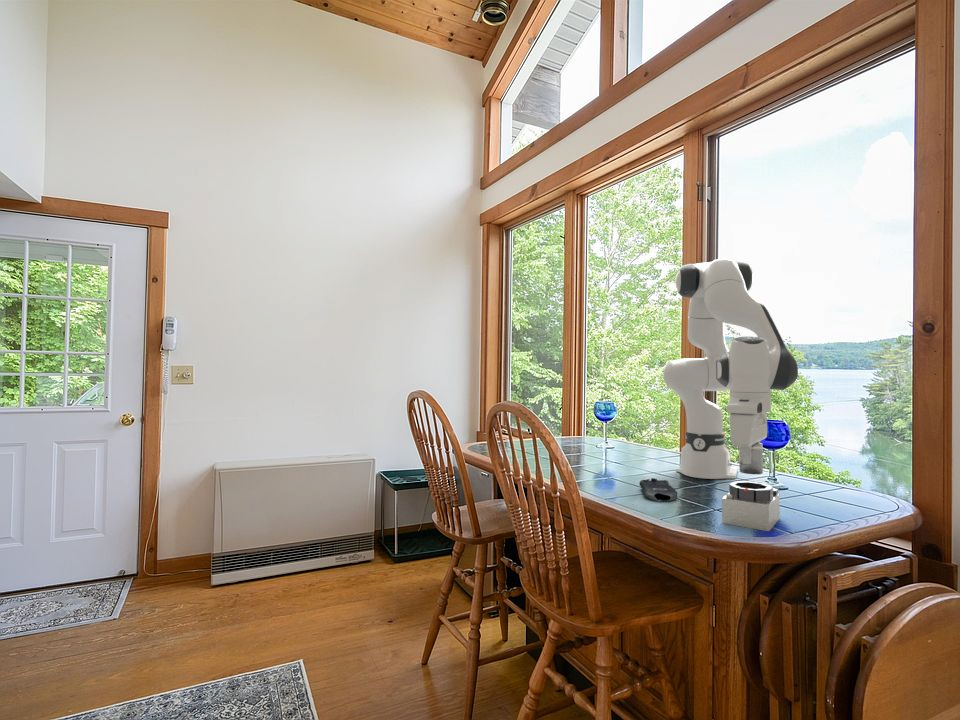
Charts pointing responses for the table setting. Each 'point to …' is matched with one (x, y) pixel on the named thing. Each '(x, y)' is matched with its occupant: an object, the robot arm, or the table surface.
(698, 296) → the robot arm
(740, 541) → the table surface
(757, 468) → the lens
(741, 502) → the camera body
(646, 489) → the electronic device
